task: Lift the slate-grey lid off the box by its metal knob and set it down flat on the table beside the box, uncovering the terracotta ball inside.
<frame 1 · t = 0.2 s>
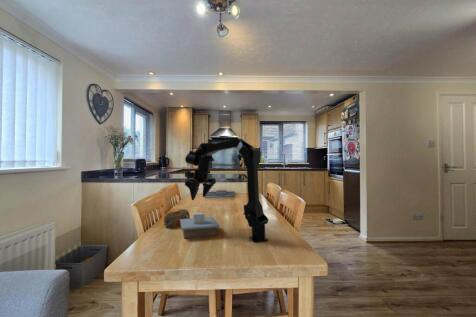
hand: (198, 198, 126), 15 cm above the table, tool pointing down, fingers open, 9 cm apart
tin: (177, 227, 130), on the table
box: (198, 234, 116), on the table
lid: (198, 223, 116), point 5 cm above the table, touching box
ball: (194, 234, 113), point 1 cm above the table, touching box
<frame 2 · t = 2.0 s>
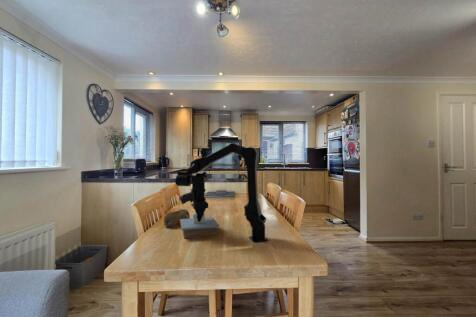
hand: (198, 220, 116), 7 cm above the table, tool pointing down, fingers closed on lid, 3 cm apart
lid: (198, 223, 116), point 5 cm above the table, touching box, gripper
everything else where it was.
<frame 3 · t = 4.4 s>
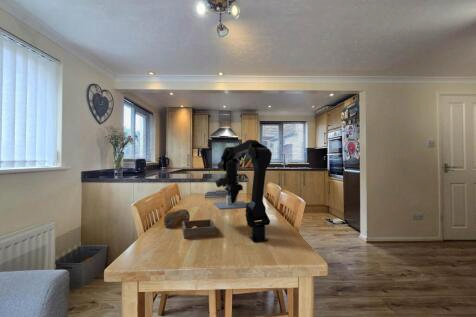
hand: (231, 202, 128), 12 cm above the table, tool pointing down, fingers closed on lid, 3 cm apart
lid: (231, 205, 128), point 11 cm above the table, touching gripper
everything else where it was.
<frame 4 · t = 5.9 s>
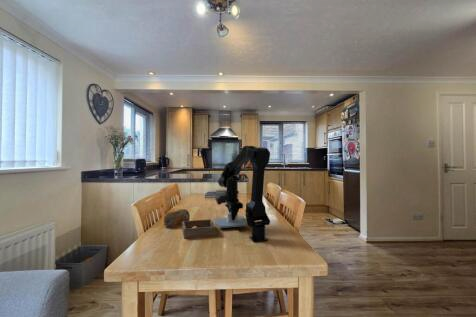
hand: (232, 219, 128), 4 cm above the table, tool pointing down, fingers closed on lid, 3 cm apart
lid: (232, 222, 128), point 2 cm above the table, touching gripper
everything else where it was.
when the fingers open (3 cm above the table, at t = 6.7 s): lid drops 2 cm, on the table.
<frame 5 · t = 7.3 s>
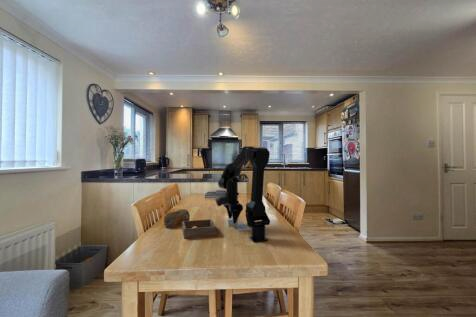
hand: (232, 221, 128), 3 cm above the table, tool pointing down, fingers open, 9 cm apart
lid: (232, 228, 128), on the table
everything else where it was.
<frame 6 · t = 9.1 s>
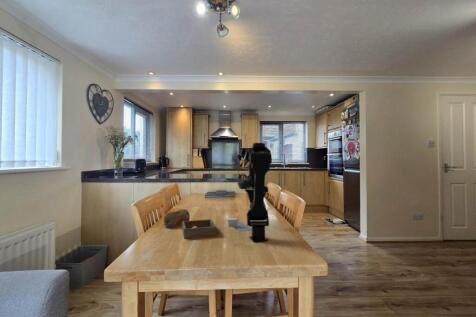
hand: (254, 205, 125), 12 cm above the table, tool pointing down, fingers open, 9 cm apart
nothing on the table moved.
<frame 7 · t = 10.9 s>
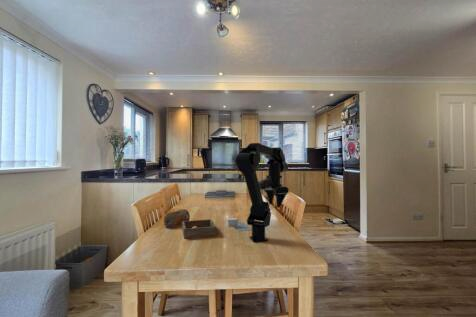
hand: (274, 205, 122), 12 cm above the table, tool pointing down, fingers open, 9 cm apart
nothing on the table moved.
at the end: lid inside the target area (0.1 cm from its centre), on the table; lid tilted 0°; the gripper is holding nothing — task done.
